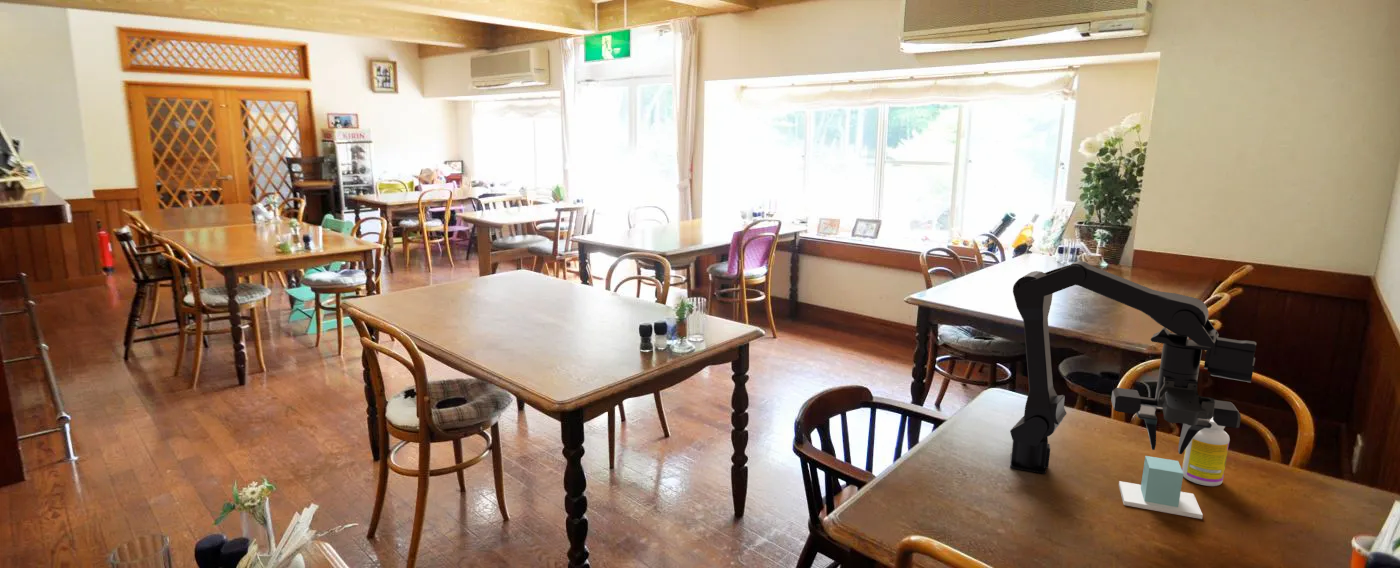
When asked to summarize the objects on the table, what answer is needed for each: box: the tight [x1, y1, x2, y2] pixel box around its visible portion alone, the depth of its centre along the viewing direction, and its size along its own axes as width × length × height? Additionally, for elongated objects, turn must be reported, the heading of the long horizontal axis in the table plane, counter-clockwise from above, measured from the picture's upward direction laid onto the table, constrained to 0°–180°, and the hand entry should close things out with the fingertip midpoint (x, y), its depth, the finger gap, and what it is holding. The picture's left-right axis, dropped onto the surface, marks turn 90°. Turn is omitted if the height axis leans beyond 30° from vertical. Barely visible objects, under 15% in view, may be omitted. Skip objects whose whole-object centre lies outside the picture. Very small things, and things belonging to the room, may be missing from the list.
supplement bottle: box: [1181, 417, 1231, 487], centre depth 139 cm, size 7×7×13 cm
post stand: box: [1118, 480, 1204, 520], centre depth 131 cm, size 12×8×6 cm, turn 66°
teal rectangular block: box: [1140, 455, 1184, 507], centre depth 131 cm, size 5×5×7 cm
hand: (1166, 451), depth 130 cm, fingers open, 4 cm apart
